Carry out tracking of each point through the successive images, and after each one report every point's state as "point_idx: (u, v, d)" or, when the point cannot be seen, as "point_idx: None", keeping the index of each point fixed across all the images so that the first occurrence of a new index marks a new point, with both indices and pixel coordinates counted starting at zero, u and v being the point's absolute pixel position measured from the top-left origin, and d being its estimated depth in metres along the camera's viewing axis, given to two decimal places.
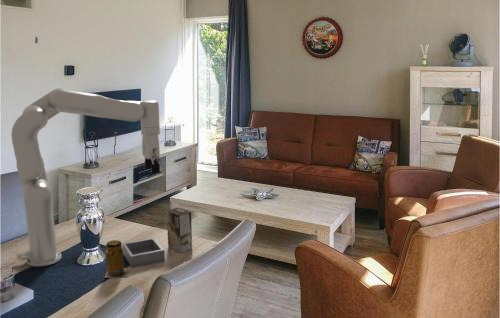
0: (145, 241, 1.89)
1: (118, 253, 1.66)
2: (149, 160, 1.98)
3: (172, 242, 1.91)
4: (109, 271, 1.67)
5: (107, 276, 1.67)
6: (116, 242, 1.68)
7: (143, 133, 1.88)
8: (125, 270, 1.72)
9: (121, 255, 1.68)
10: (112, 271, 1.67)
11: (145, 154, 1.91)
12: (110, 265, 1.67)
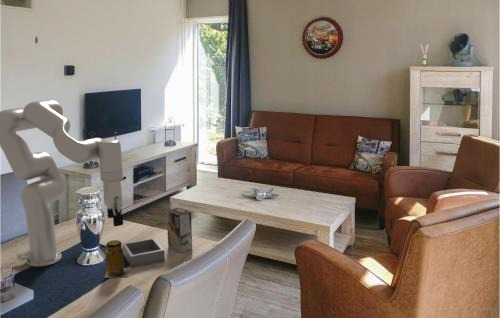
0: (145, 241, 1.89)
1: (118, 253, 1.66)
2: None
3: (172, 242, 1.91)
4: (109, 271, 1.67)
5: (107, 276, 1.67)
6: (116, 242, 1.68)
7: (102, 179, 1.59)
8: (125, 270, 1.72)
9: (121, 255, 1.68)
10: (112, 271, 1.67)
11: (106, 203, 1.62)
12: (110, 265, 1.67)
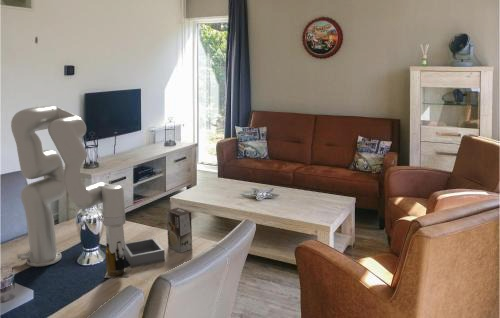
0: (145, 241, 1.89)
1: (118, 253, 1.66)
2: None
3: (172, 242, 1.91)
4: (109, 271, 1.67)
5: (107, 276, 1.67)
6: None
7: (105, 224, 1.63)
8: (125, 270, 1.72)
9: None
10: (112, 271, 1.67)
11: None
12: (110, 265, 1.67)
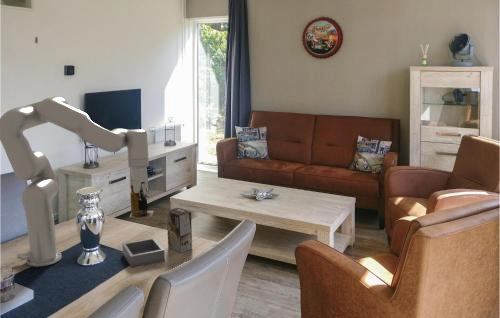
0: (145, 241, 1.89)
1: None
2: None
3: (172, 242, 1.91)
4: (133, 211, 1.76)
5: (132, 216, 1.76)
6: None
7: (130, 165, 1.72)
8: (148, 212, 1.81)
9: None
10: (136, 211, 1.76)
11: None
12: (134, 205, 1.75)
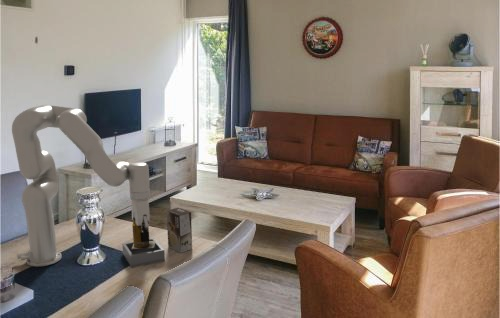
0: None
1: None
2: None
3: (172, 242, 1.91)
4: (136, 243, 1.79)
5: (134, 248, 1.79)
6: None
7: (132, 198, 1.75)
8: (150, 243, 1.84)
9: None
10: (138, 242, 1.79)
11: None
12: (137, 237, 1.78)
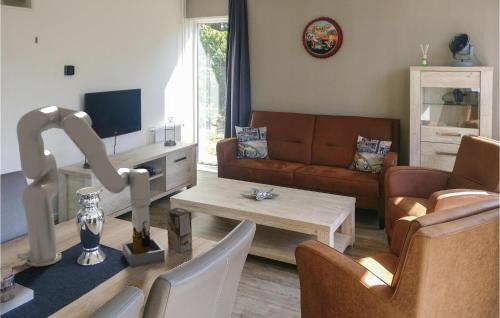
0: None
1: None
2: None
3: (172, 242, 1.91)
4: (136, 253, 1.80)
5: None
6: None
7: (132, 205, 1.76)
8: None
9: None
10: (138, 253, 1.79)
11: (135, 226, 1.79)
12: (137, 247, 1.79)
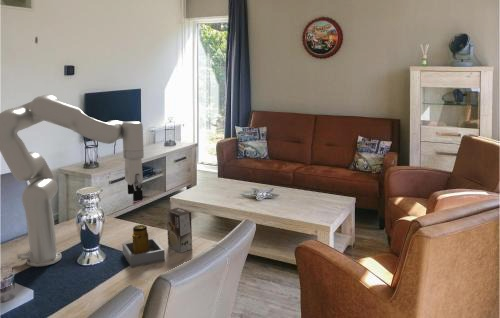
0: None
1: (144, 236, 1.79)
2: (132, 185, 1.83)
3: (172, 242, 1.91)
4: (136, 253, 1.80)
5: None
6: (142, 226, 1.81)
7: (125, 157, 1.73)
8: None
9: (147, 238, 1.80)
10: (138, 253, 1.79)
11: (127, 179, 1.76)
12: (137, 247, 1.79)
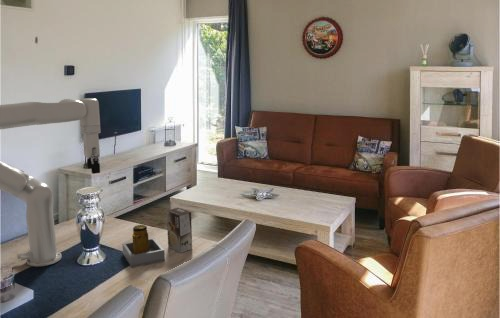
0: None
1: (144, 236, 1.79)
2: None
3: (172, 242, 1.91)
4: (136, 253, 1.80)
5: None
6: (142, 226, 1.81)
7: (82, 132, 1.83)
8: None
9: (147, 238, 1.80)
10: (138, 253, 1.79)
11: (85, 153, 1.86)
12: (137, 247, 1.79)
